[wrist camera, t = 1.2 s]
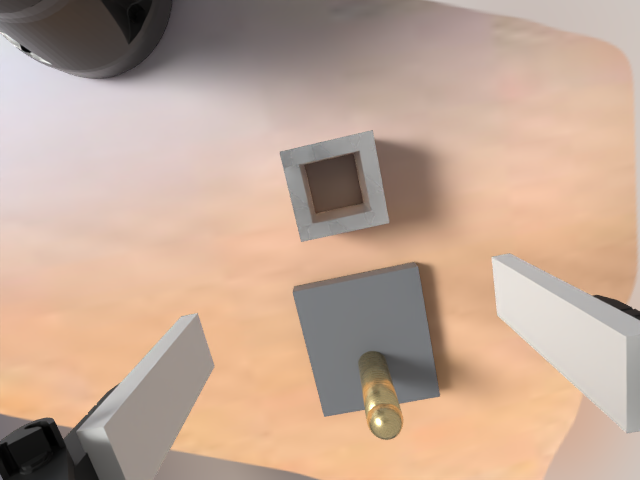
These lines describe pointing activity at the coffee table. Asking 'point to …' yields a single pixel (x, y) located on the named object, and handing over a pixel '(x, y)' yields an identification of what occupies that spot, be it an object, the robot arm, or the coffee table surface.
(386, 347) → the keeper plate
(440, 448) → the coffee table surface
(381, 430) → the pin
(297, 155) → the steel collar
